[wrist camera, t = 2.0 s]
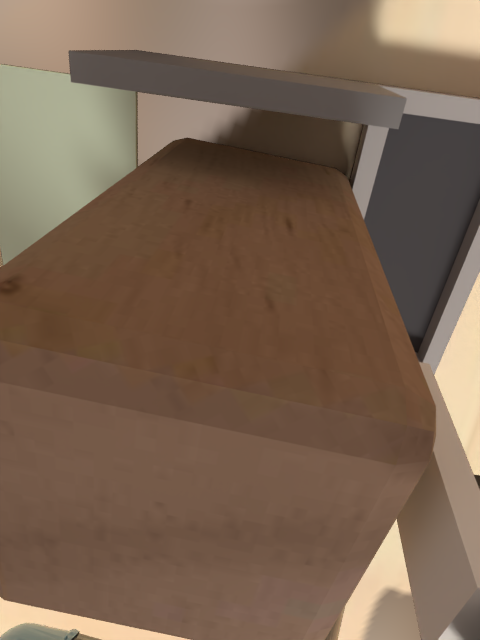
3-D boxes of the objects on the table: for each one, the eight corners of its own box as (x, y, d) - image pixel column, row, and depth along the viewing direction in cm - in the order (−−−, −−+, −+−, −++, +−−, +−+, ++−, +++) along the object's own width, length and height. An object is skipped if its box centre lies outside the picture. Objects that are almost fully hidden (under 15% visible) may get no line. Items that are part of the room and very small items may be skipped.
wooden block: (173, 130, 25) (-110, 315, 8) (352, 168, 25) (475, 437, 8) (158, 289, 30) (-27, 610, 13) (306, 320, 30) (317, 683, 13)
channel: (309, 345, 31) (313, 429, 24) (137, 317, 31) (92, 393, 24) (373, 83, 22) (407, 98, 16) (137, 50, 23) (68, 50, 16)
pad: (137, 299, 30) (136, 301, 30) (8, 278, 31) (5, 280, 30) (137, 83, 24) (135, 83, 23) (-30, 59, 24) (-33, 59, 24)
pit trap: (426, 364, 30) (432, 378, 29) (309, 345, 31) (310, 358, 29) (536, 106, 22) (550, 109, 21) (373, 83, 22) (378, 85, 21)
